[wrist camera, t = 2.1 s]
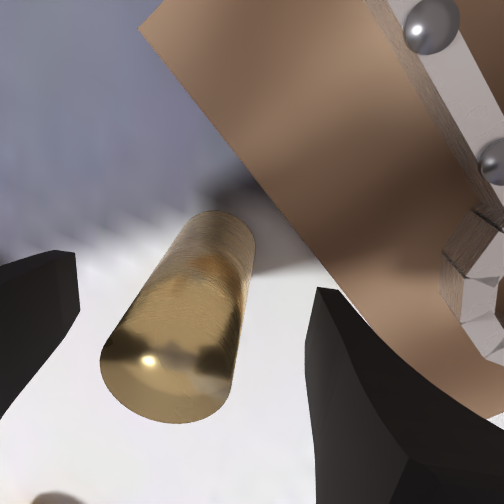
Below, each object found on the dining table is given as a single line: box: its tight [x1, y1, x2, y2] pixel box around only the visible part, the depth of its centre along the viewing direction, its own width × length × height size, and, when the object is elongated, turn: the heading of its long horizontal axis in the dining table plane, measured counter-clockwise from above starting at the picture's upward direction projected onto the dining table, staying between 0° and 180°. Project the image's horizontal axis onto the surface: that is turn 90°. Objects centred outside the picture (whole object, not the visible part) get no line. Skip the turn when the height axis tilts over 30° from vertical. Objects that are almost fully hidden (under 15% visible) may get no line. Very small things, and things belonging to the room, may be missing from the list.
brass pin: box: [100, 211, 255, 424], centre depth 12 cm, size 3×3×7 cm
